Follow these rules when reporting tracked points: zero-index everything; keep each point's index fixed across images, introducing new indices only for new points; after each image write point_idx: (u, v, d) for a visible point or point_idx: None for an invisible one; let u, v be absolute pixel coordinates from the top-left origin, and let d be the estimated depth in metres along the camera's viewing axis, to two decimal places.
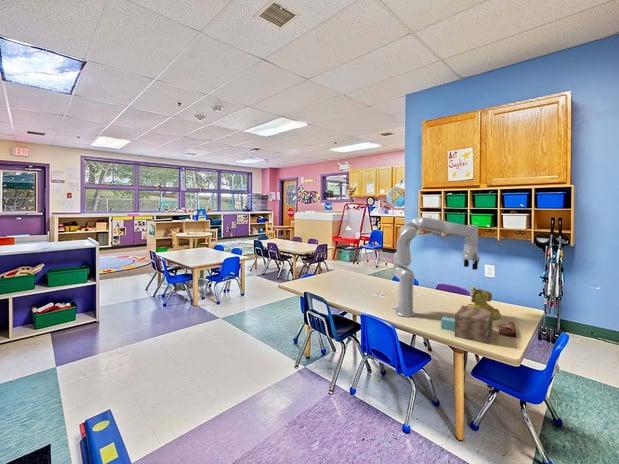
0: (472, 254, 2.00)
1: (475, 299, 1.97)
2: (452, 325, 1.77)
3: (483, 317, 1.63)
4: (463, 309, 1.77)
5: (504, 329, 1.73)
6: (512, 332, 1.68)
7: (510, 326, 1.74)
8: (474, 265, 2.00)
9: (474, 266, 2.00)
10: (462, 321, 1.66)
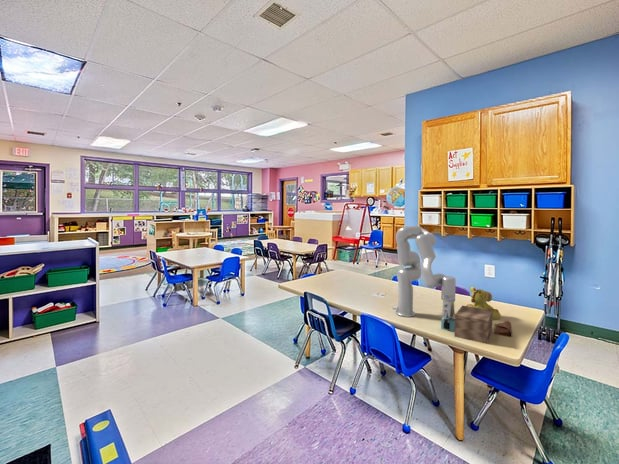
0: None
1: (475, 299, 1.96)
2: (452, 325, 1.77)
3: (483, 317, 1.63)
4: (463, 309, 1.77)
5: (500, 328, 1.74)
6: (507, 331, 1.69)
7: (506, 325, 1.75)
8: None
9: None
10: (462, 321, 1.66)
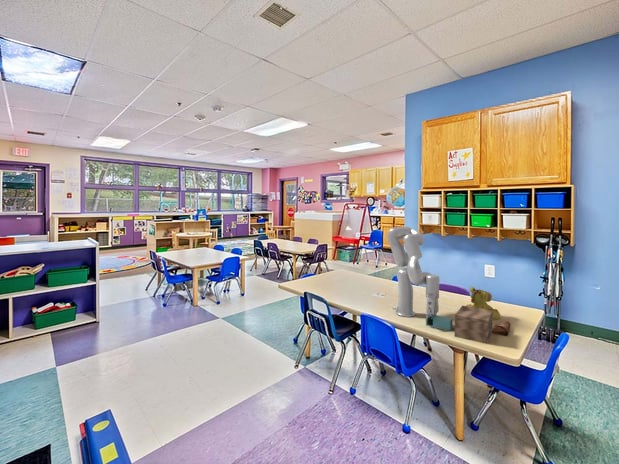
0: None
1: (475, 299, 1.96)
2: (436, 322, 1.82)
3: (483, 317, 1.63)
4: (463, 309, 1.77)
5: (497, 328, 1.75)
6: (504, 331, 1.70)
7: (504, 325, 1.75)
8: None
9: None
10: (462, 321, 1.66)
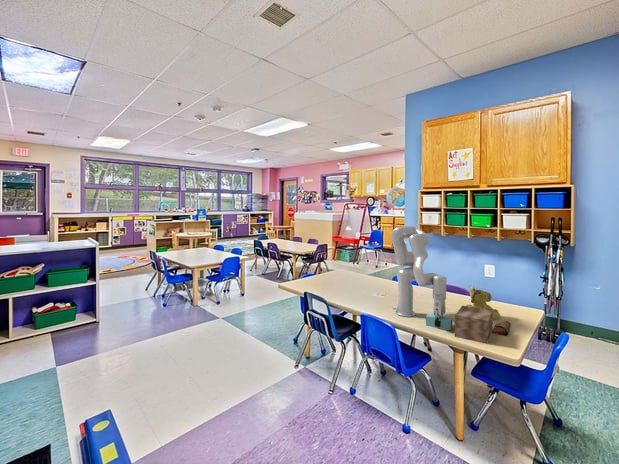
0: None
1: (475, 300, 1.95)
2: None
3: (483, 317, 1.63)
4: (463, 309, 1.77)
5: (497, 327, 1.75)
6: (504, 331, 1.70)
7: (504, 325, 1.75)
8: None
9: None
10: (462, 321, 1.66)
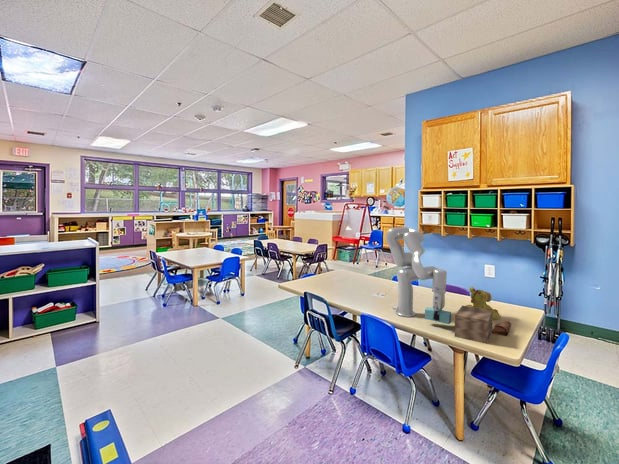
0: None
1: (475, 300, 1.95)
2: None
3: (483, 317, 1.63)
4: (463, 309, 1.77)
5: (497, 328, 1.75)
6: (504, 331, 1.70)
7: (504, 325, 1.76)
8: None
9: None
10: (462, 321, 1.66)
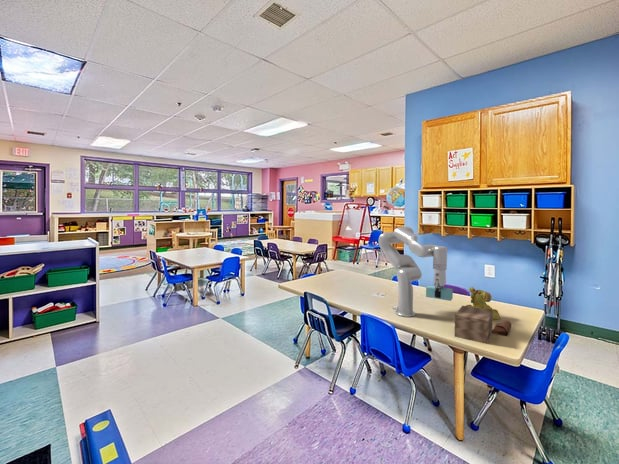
0: None
1: (475, 300, 1.95)
2: None
3: (483, 317, 1.63)
4: (463, 309, 1.77)
5: (497, 327, 1.75)
6: (504, 330, 1.70)
7: (504, 325, 1.76)
8: None
9: None
10: (462, 321, 1.66)
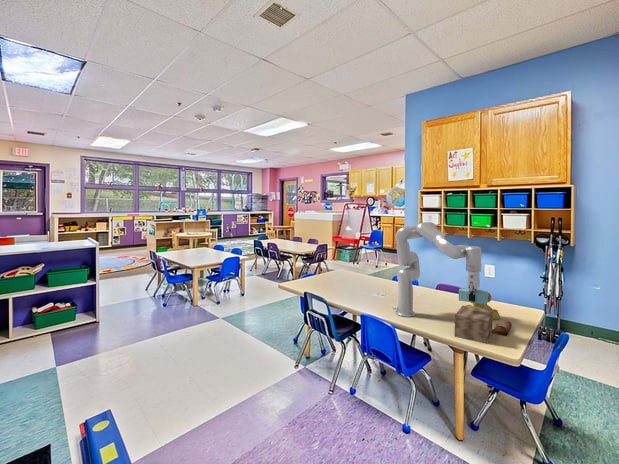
0: None
1: None
2: None
3: (483, 317, 1.63)
4: (463, 309, 1.77)
5: (497, 327, 1.75)
6: (504, 330, 1.70)
7: (504, 325, 1.75)
8: None
9: None
10: (462, 321, 1.66)
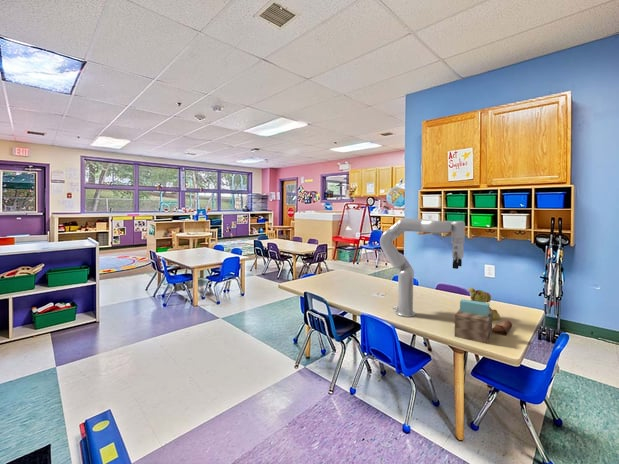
0: None
1: (475, 300, 1.94)
2: (471, 307, 1.70)
3: (483, 317, 1.63)
4: None
5: (497, 327, 1.76)
6: (503, 330, 1.71)
7: (504, 324, 1.76)
8: None
9: None
10: (462, 321, 1.66)
